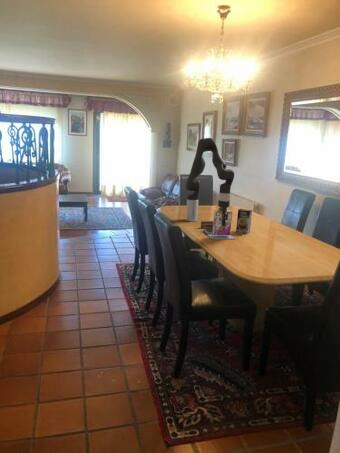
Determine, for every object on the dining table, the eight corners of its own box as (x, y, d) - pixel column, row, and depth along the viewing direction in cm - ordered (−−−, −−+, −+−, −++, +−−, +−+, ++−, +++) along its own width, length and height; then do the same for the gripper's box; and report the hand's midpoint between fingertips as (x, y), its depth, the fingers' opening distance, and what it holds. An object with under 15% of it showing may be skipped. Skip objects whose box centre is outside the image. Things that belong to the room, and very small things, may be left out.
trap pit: (203, 231, 263) (203, 229, 262) (224, 231, 266) (225, 229, 265) (207, 235, 253) (207, 232, 253) (229, 235, 256) (229, 232, 256)
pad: (207, 235, 252) (207, 234, 252) (230, 235, 255) (230, 234, 255) (211, 239, 243) (211, 238, 242) (235, 239, 246) (235, 238, 245)
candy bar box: (214, 235, 245) (216, 211, 242) (212, 233, 250) (214, 209, 246) (230, 235, 247) (232, 211, 244) (228, 233, 252) (230, 210, 248)
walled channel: (200, 227, 274) (200, 221, 273) (218, 227, 277) (219, 221, 276) (204, 231, 264) (204, 224, 263) (223, 231, 266) (223, 224, 265)
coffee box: (235, 231, 268) (237, 209, 264) (238, 229, 274) (240, 208, 270) (247, 233, 264) (250, 211, 260) (250, 231, 269) (252, 209, 266)
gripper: (215, 197, 249) (213, 222, 253) (222, 201, 236) (219, 227, 240) (226, 198, 251) (224, 222, 255) (233, 201, 237) (231, 227, 241)
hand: (222, 224), depth 247 cm, fingers closed on candy bar box, 5 cm apart
